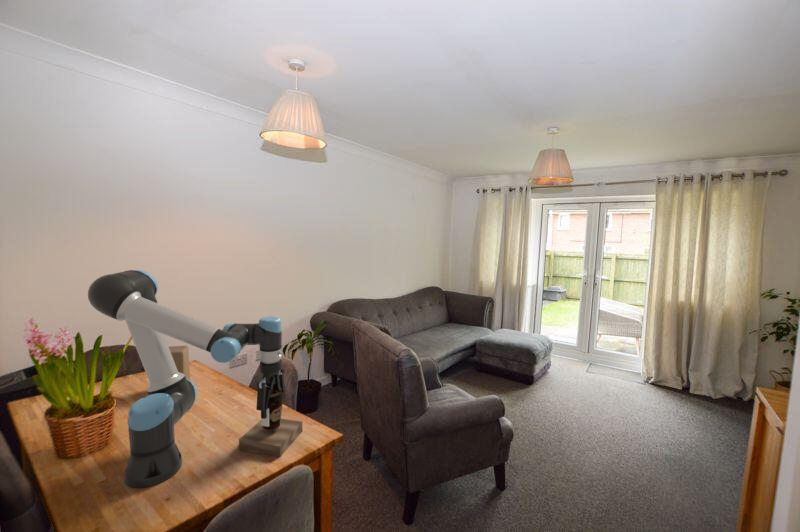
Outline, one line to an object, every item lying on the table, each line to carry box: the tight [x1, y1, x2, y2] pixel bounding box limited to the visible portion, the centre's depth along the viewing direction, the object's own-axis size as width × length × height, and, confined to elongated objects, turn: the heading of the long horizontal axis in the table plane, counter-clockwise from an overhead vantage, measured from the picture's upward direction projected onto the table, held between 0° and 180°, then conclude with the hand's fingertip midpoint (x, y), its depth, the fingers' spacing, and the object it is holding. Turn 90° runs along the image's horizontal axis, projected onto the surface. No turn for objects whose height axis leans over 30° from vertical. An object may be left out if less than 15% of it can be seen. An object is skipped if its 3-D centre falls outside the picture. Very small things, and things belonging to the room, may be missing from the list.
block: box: [168, 345, 191, 381], centre depth 168 cm, size 10×10×20 cm
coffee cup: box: [262, 388, 284, 431], centre depth 130 cm, size 9×8×13 cm
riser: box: [238, 417, 304, 458], centre depth 131 cm, size 16×16×4 cm
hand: (271, 419), depth 130 cm, fingers closed on coffee cup, 7 cm apart
